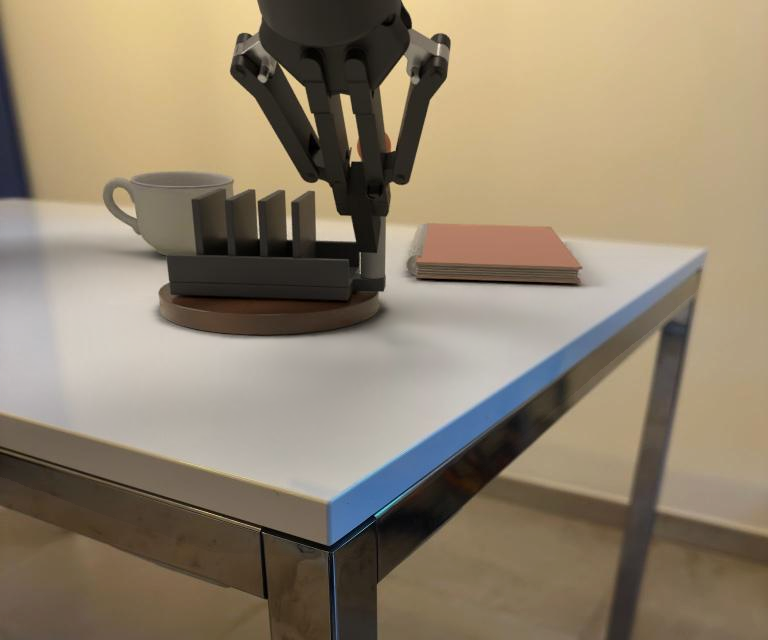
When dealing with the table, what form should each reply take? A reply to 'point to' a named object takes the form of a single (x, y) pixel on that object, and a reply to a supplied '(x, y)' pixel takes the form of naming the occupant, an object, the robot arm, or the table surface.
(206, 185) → the teacup
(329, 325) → the turntable
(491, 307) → the table surface
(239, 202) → the dish rack
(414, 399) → the table surface
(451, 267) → the notebook
